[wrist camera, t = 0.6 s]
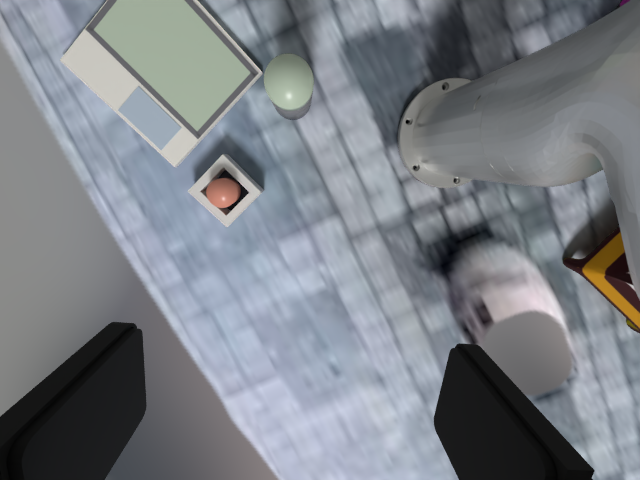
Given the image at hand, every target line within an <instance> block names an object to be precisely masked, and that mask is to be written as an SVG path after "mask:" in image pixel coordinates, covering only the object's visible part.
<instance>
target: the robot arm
mask: <svg viewBox="0 0 640 480" xmlns="http://www.w3.org/2000/svg"><path fill="white" fill-rule="evenodd" d="M442 86H443V87H444V90H443V89H442ZM406 120H408V121H409V123H408V124H406ZM397 139H398V150H399V153H400V157H401V160H402V162H403V164H404V166H405V167H406V169H407V170H408V171H409V173H410V174H411V175H412V176H414V177H415V178H416V179H417V180H419V181H420V182H422V183H424V184H426V185H430V186H433V187H439V188H452V187H458V186H461V185H463V184H466V183H468V182H470V181H472V180H473V179H476V180H484V181H493V182H501V183H509V184H517V185H527V186H536V187H555V186H562V185H567V184H571V183H574V182H577V181H580V180H583V179H585V178H587V177H590V176H592V175H594V174H595V173H597V172H599V171H601V170H604V173H605V176H606V179H607V183H608V187H609V192H610V196H611V199H612V201H613V202H614V204H615V209H616V213H617V218H618V222H619V227H620V231H621V236H622V240H623V244H624V249H625V253H626V258H627V263H628V267H629V271H630V276H631V279H632V282H633V285H634V288H635V291H636V293H637V296H638V298H639V300H640V0H630V1H629V2H627V3H625V4H624V5H622V6H621V7H619V8H618V9H616V10H614V11H613V12H611V13H609V14H608V15H606V16H604V17H603V18H601V19H599V20H597V21H596V22H594V23H592V24H591V25H589V26H587V27H585V28H583V29H581V30H579V31H577V32H575V33H573V34H571V35H569V36H567V37H565V38H563V39H561V40H559V41H557V42H555V43H553V44H551V45H549V46H547V47H545V48H543V49H541V50H539V51H536V52H534V53H532V54H530V55H528V56H526V57H524V58H522V59H520V60H517V61H515V62H513V63H511V64H509V65H506V66H504V67H502V68H500V69H498V70H495V71H493V72H491V73H489V74H487V75H485V76H482V77H480V78H478V79H476V80H474V81H472V80H469V79H464V78H448V79H444V80H441V81H438V82H435V83H433V84H431V85H429V86H428V87H426V88H425V89H423V90H422V91H420V92H419V93H418V94H417V95H416V96H415V97H414V98H413V99H412V101H411V102H410V103H409V105H408V106H407V108H406V109H405V111H404V114H403V116H402V118H401V121H400V125H399V128H398V138H397ZM413 166H415V167H416V168H415V169H414V170H413ZM454 178H455V181H454V182H453V180H454ZM144 372H145V371H144V354H143V336H142V331H141V329H137V327H136V325H135V324H134V323H121V322H112V323H110V324H108V326H106V327H105V328H104V329H103V330H101V331H100V332H99V333H98V334H97V335H96V336H94V337H93V338H92V339H91V340H90V341H89V342H87V343H86V344H85V345H84V346H83V347H81V348H80V349H79V350H78V351H77V352H76V353H75V354H73V355H72V356H71V357H70V358H69V359H67V360H66V361H65V362H64V363H63V364H62V365H60V366H59V367H58V368H57V369H56V370H55V371H53V372H52V373H51V374H50V375H49V376H48V377H46V378H45V379H44V380H43V381H42V382H40V383H39V384H38V385H37V386H36V387H35V388H33V389H32V390H31V391H30V392H29V393H27V394H26V395H25V396H24V397H23V398H22V399H20V400H19V401H18V402H17V403H16V404H15V405H13V406H12V407H11V408H10V409H9V410H7V411H6V412H5V413H4V414H3V415H2V416H1V417H0V480H105V478H106V476H107V475H108V473H109V472H110V470H111V468H112V467H113V465H114V463H115V462H116V460H117V459H118V457H119V456H120V454H121V452H122V451H123V449H124V448H125V446H126V444H127V443H128V441H129V440H130V438H131V436H132V435H133V433H134V432H135V430H136V428H137V427H138V425H139V423H140V422H141V420H142V418H143V416H144V414H145V410H146V390H145V373H144ZM434 426H435V430H436V432H437V434H438V436H439V439H440V441H441V443H442V445H443V447H444V449H445V451H446V453H447V455H448V457H449V459H450V462H451V464H452V466H453V468H454V470H455V472H456V474H457V476H458V478H459V480H593V479H592V475H593V473H594V469H593V468H592V467H591V466H590V465H589V464H588V463H587V462H586V461H585V460H584V459H583V458H582V456H581V455H580V454H579V453H578V452H577V451H576V450H575V449H574V448H573V447H572V446H571V445H570V443H569V442H568V441H567V440H566V439H565V438H564V437H563V436H562V435H561V434H560V433H559V432H558V430H557V429H556V428H555V427H554V426H553V425H552V424H551V423H550V422H549V421H548V420H547V419H546V417H545V416H544V415H543V414H542V413H541V412H540V411H539V410H538V409H537V408H536V407H535V406H534V404H533V403H532V402H531V401H530V400H529V399H528V398H527V397H526V396H525V395H524V394H523V393H522V392H521V390H520V389H519V388H518V387H517V386H516V385H515V384H514V383H513V382H512V381H511V380H510V379H509V377H508V376H507V375H506V374H505V373H504V372H503V371H502V370H501V369H500V368H499V367H498V366H497V364H496V363H495V362H494V361H493V360H492V359H491V358H490V357H489V356H488V355H487V354H486V353H485V351H484V350H483V349H482V348H481V347H480V346H478V345H474V344H457V345H456V347H455V348H452V349H451V350H450V353H449V357H448V362H447V366H446V370H445V374H444V378H443V382H442V386H441V391H440V395H439V399H438V403H437V407H436V411H435V415H434Z"/></svg>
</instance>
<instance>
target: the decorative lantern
mask: <svg viewBox="0 0 640 480" xmlns="http://www.w3.org/2000/svg"><path fill="white" fill-rule="evenodd" d="M563 264H564V265H565V266H566V267H568V268H570V269H572V270H573V271H575V272H577V273H579V274H580V275H581V276H583V277H584V278H585V279H586V280H587V281H588V282H589V283H590V284H591V285H592V286H594V287H595V288H596V289H597V290H598V291H599V292H600V293H601V294H602V295H603V296H604V297H605V298H606V299H607V300H608V301H609V302H610V303H611V304H612V305H613V306H614V307H615V308H616V309H617V310H618V311H619V312H621V313H622V314H623V315H624V316H625V317H626V318H627V319H628V320H627V325H628V326H629V327H630V328H631V329H633V330H634V331H636V332H638V333H640V300H639V298H638V296H637V293H636V291H635V288H634V285H633V282H632V279H631V276H630V271H629V267H628V263H627V258H626V253H625V249H624V244H623V240H622V236H621V231H620V227H618V228H617V229H616V230H615V231H614V232H613V233H612V234H611V235H610V236H608V237H607V238H606V239H605V240H604V241H603V242H602V243H601V244H600V245H599V246H598V247H597V248H596V249H595V250H594V251H593V252H592V253H591V254H590V255H588V256H587V257H586V258H584V259H574V258H565V259H564V260H563Z"/></svg>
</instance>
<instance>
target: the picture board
mask: <svg viewBox="0 0 640 480" xmlns="http://www.w3.org/2000/svg"><path fill="white" fill-rule="evenodd" d="M60 61H61V62H62V63H63V64H64V65H65V66H66V67H68V68H69V69H70V70H71V71H72V72H73V73H74V74H75V75H76V76H77V77H78V78H79V79H80V80H81V81H83V82H84V83H85V84H86V85H87V86H88V87H89V88H90V89H91V90H92V91H93V92H94V93H95V94H97V95H98V96H99V97H100V98H101V99H102V100H103V101H104V102H105V103H106V104H107V105H108V106H109V107H110V108H112V109H113V110H114V111H115V112H116V113H117V114H118V115H119V116H120V117H121V118H122V119H123V120H124V121H126V122H127V123H128V124H129V125H130V126H131V127H132V128H133V129H134V130H135V131H136V132H137V133H138V134H139V135H141V136H142V137H143V138H144V139H145V140H146V141H147V142H148V143H149V144H150V145H151V146H152V147H153V148H155V149H156V150H157V151H158V152H159V153H160V154H161V155H162V156H163V157H164V158H165V159H166V160H167V161H168V162H170V163H171V164H172V165H173V166H174V167H178V165H179V164H180V163H181V162H182V161H183V160H184V159H185V158H186V157H187V156H188V155H189V153H190V152H191V151H192V150H193V149H194V148H195V147H196V146H197V145H198V144H199V143H200V142H201V140H202V139H203V138H204V137H205V136H206V135H207V134H208V133H209V132H210V131H211V130H212V128H213V127H214V126H215V125H216V124H217V123H218V122H219V121H220V120H221V119H222V118H223V117H224V115H225V114H226V113H227V112H228V111H229V110H230V109H231V108H232V107H233V106H234V105H235V104H236V102H237V101H238V100H239V99H240V98H241V97H242V96H243V95H244V94H245V93H246V92H247V90H248V89H249V88H250V87H251V86H252V85H253V84H254V83H255V82H256V81H257V80H258V79H259V77H260V76H261V75H262V74H263V73H262V71H261V70H260V69H259V68H258V67H257V66H256V65H255V63H254V62H253V61H252V60H251V59H250V58H249V57H248V56H247V55H246V53H245V52H244V51H243V50H242V49H241V48H240V47H239V46H238V45H237V44H236V42H235V41H234V40H233V39H232V38H231V37H230V36H229V35H228V34H227V32H226V31H225V30H224V29H223V28H222V27H221V26H220V25H219V24H218V22H217V21H216V20H215V19H214V18H213V17H212V16H211V15H210V14H209V13H208V11H207V10H206V9H205V8H204V7H203V6H202V5H201V4H200V3H199V1H198V0H107V1H106V2H105V4H104V5H103V6H102V7H101V9H100V10H99V11H98V12H97V14H96V15H95V16H94V17H93V19H92V20H91V21H90V23H89V24H88V25H87V26H86V28H85V29H84V30H83V31H82V33H81V34H80V35H79V36H78V38H77V39H76V40H75V42H74V43H73V44H72V45H71V47H70V48H69V49H68V50H67V52H66V53H65V54H64V56H63V57H62V58H61V59H60Z"/></svg>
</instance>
